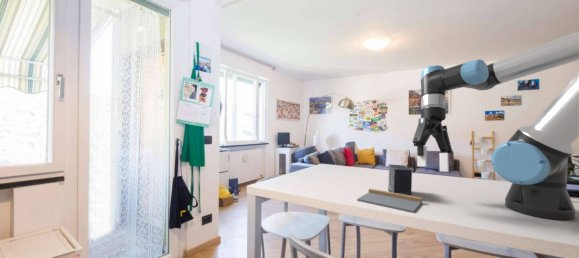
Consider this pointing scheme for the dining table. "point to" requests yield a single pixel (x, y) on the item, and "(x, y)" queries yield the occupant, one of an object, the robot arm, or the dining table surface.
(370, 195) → the grey mat
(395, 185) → the small box
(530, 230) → the dining table surface
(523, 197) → the robot arm
